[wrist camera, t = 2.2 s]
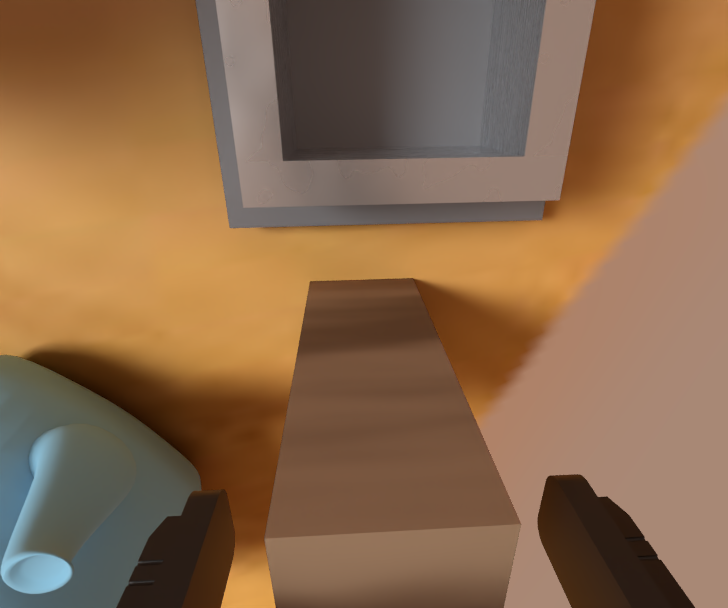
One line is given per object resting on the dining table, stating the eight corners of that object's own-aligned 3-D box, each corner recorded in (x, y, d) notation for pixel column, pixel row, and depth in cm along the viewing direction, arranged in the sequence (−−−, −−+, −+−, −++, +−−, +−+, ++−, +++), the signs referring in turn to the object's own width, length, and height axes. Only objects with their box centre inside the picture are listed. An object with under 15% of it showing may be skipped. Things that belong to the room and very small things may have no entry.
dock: (176, -202, 12) (66, -414, 7) (591, -195, 12) (750, -389, 7) (237, 220, 17) (196, 262, 12) (529, 213, 17) (600, 250, 13)
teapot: (301, 407, 21) (262, 699, 11) (96, 575, 25) (-72, 895, 15) (76, 233, 17) (-361, 433, 6) (-121, 471, 21) (-564, 816, 11)
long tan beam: (310, 281, 18) (264, 539, 7) (412, 278, 18) (521, 523, 7) (316, 368, 20) (287, 677, 9) (409, 365, 20) (491, 663, 9)
